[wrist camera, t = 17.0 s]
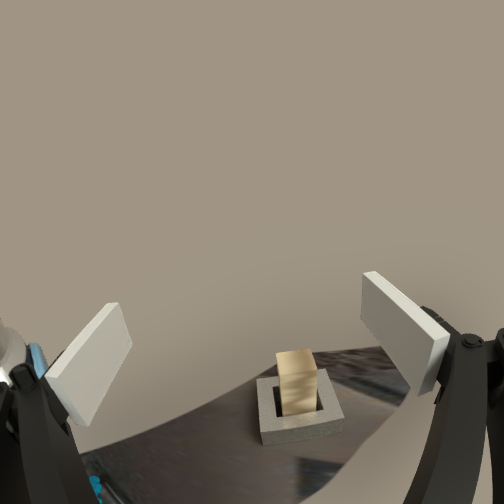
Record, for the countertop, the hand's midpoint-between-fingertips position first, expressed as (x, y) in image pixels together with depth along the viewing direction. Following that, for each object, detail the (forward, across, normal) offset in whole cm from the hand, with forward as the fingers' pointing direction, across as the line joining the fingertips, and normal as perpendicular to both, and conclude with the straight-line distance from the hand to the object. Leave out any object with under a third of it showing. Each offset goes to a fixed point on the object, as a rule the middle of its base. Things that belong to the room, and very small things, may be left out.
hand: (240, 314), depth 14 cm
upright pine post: (+18, +5, -30) cm, 35 cm away
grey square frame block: (+18, +5, -30) cm, 35 cm away
